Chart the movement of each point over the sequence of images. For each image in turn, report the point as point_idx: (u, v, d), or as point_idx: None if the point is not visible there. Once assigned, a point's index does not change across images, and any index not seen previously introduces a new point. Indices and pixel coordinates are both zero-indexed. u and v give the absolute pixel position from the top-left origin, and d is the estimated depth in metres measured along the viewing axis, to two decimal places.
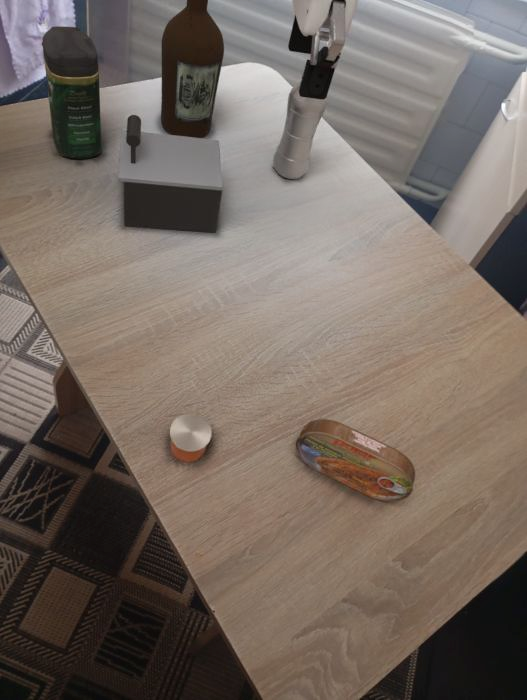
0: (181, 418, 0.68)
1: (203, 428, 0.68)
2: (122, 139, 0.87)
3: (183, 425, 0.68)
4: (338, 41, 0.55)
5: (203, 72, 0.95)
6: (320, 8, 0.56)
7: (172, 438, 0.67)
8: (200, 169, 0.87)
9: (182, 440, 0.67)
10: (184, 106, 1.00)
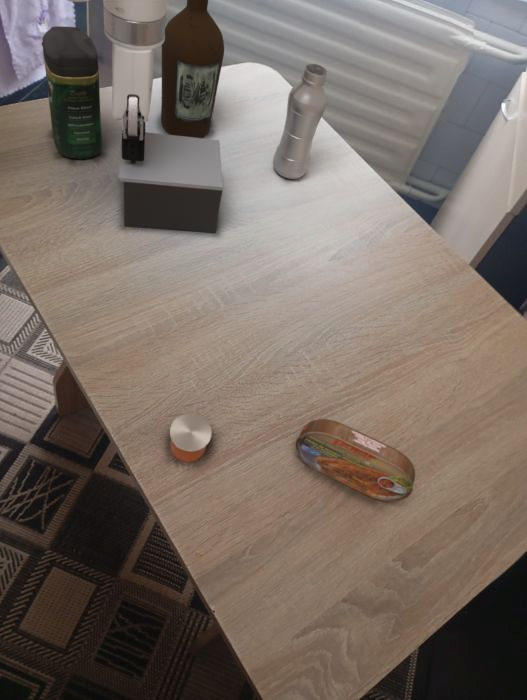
0: (181, 418, 0.68)
1: (203, 428, 0.68)
2: None
3: (183, 425, 0.68)
4: (132, 133, 0.75)
5: (203, 72, 0.95)
6: (119, 101, 0.73)
7: (172, 438, 0.67)
8: (200, 169, 0.87)
9: (182, 440, 0.67)
10: (184, 106, 1.00)
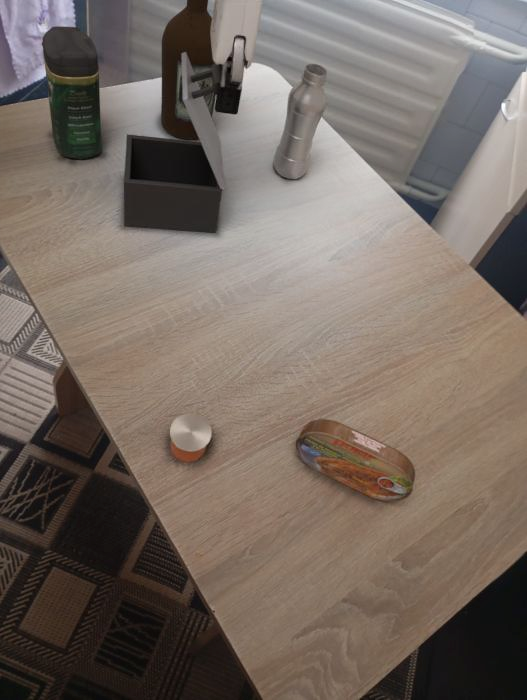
0: (181, 418, 0.68)
1: (203, 428, 0.68)
2: (186, 62, 0.79)
3: (183, 425, 0.68)
4: (236, 79, 0.70)
5: None
6: (225, 43, 0.69)
7: (172, 438, 0.67)
8: (216, 155, 0.85)
9: (182, 440, 0.67)
10: (184, 106, 1.00)
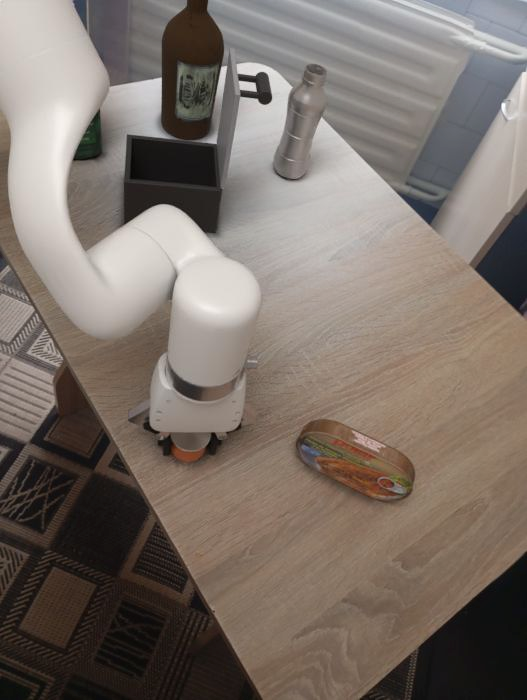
0: None
1: None
2: (235, 59, 0.79)
3: None
4: (128, 415, 0.63)
5: (203, 72, 0.95)
6: None
7: (172, 438, 0.67)
8: None
9: (182, 440, 0.67)
10: (184, 106, 1.00)
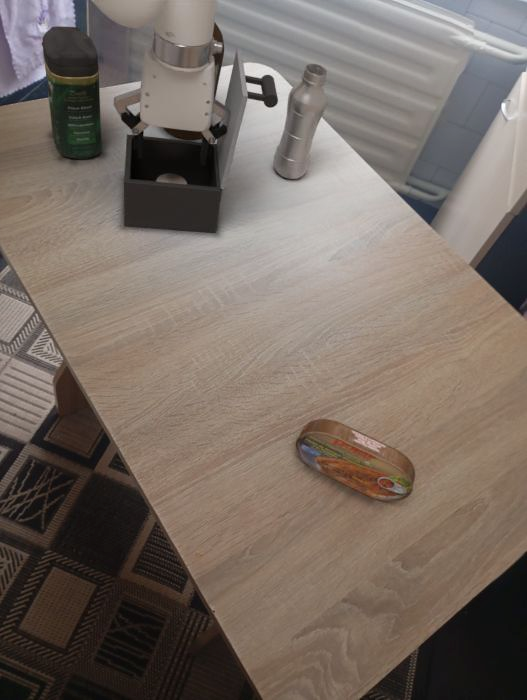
0: (164, 175, 0.92)
1: (181, 182, 0.92)
2: (242, 60, 0.79)
3: (166, 179, 0.92)
4: (114, 100, 0.79)
5: None
6: None
7: None
8: None
9: None
10: None
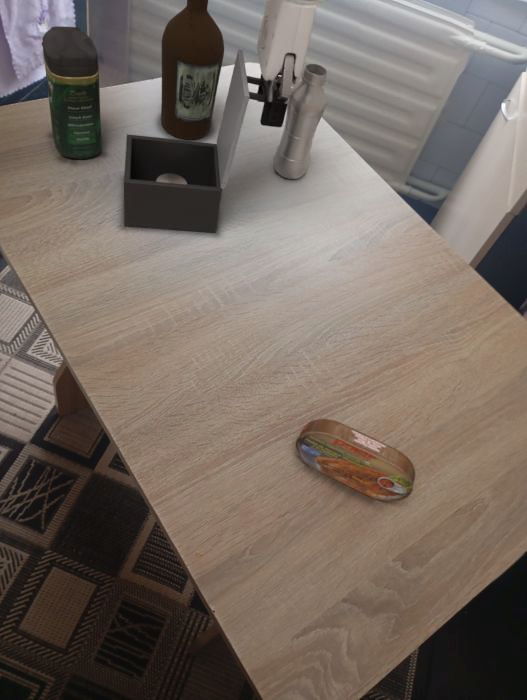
0: (164, 175, 0.92)
1: (181, 182, 0.92)
2: (243, 61, 0.79)
3: (166, 179, 0.92)
4: (285, 94, 0.73)
5: (203, 72, 0.95)
6: (276, 60, 0.71)
7: None
8: None
9: None
10: (184, 106, 1.00)
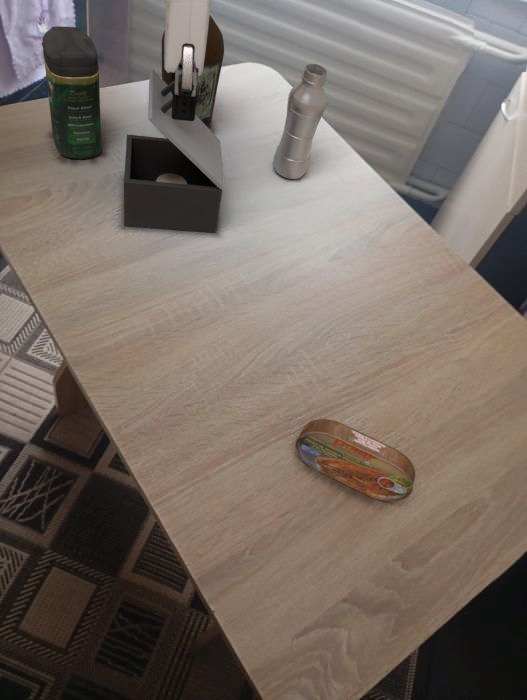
0: (164, 175, 0.92)
1: (181, 182, 0.92)
2: (153, 79, 0.80)
3: (166, 179, 0.92)
4: (186, 87, 0.70)
5: (203, 72, 0.95)
6: (174, 51, 0.69)
7: None
8: (209, 157, 0.85)
9: None
10: None
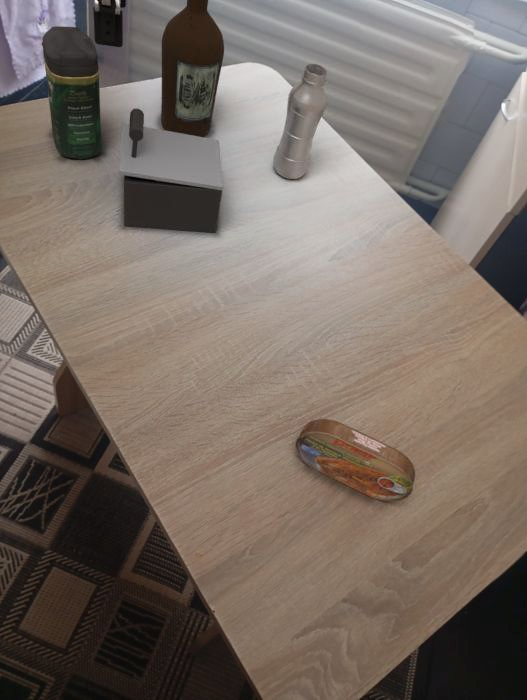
0: None
1: None
2: (122, 132, 0.86)
3: None
4: None
5: (203, 72, 0.95)
6: None
7: None
8: (200, 167, 0.87)
9: None
10: (184, 106, 1.00)
